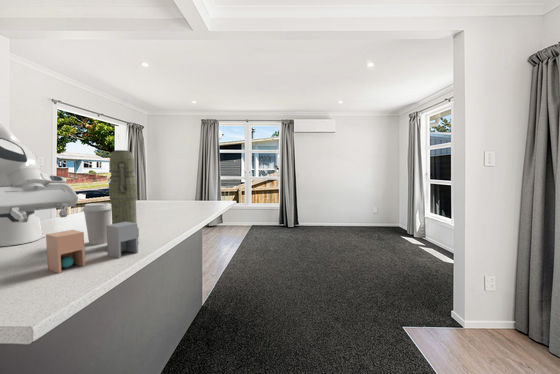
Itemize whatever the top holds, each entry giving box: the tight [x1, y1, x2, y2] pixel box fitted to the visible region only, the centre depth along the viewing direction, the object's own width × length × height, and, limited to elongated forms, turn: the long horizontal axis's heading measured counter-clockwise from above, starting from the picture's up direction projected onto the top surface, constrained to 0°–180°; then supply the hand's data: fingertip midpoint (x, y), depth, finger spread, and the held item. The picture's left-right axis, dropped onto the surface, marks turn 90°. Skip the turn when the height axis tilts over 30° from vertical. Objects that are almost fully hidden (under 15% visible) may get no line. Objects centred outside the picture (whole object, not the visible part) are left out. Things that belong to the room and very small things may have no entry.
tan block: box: [45, 229, 86, 274], centre depth 75 cm, size 6×6×10 cm
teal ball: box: [61, 256, 74, 269], centre depth 75 cm, size 3×3×3 cm
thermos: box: [108, 149, 140, 244], centre depth 97 cm, size 9×12×35 cm
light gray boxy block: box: [106, 222, 139, 259], centre depth 87 cm, size 6×6×10 cm
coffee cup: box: [82, 202, 112, 246], centre depth 101 cm, size 10×10×15 cm
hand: (45, 218), depth 79 cm, fingers open, 8 cm apart
